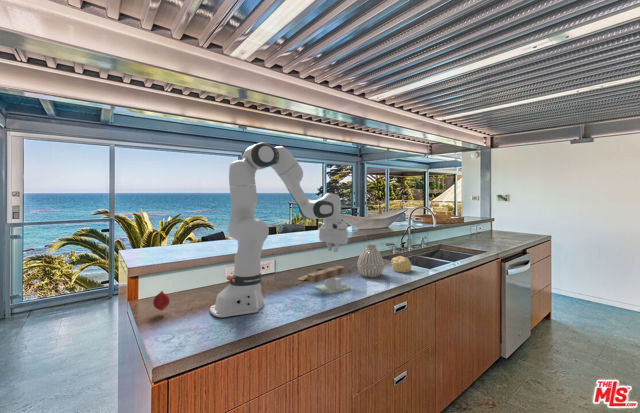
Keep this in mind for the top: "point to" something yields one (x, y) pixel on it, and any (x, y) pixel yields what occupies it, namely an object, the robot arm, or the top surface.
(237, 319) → the top surface
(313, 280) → the walnut bar
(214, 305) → the robot arm
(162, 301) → the onion
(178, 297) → the top surface
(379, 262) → the vase
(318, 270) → the tool
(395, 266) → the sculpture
